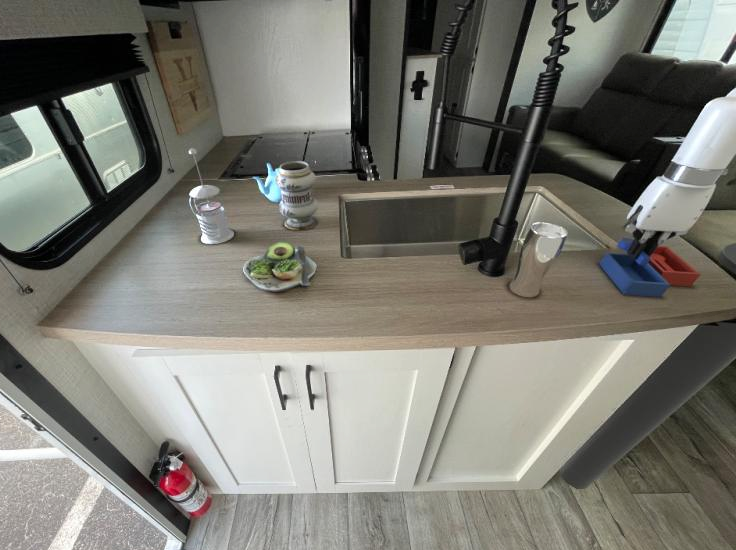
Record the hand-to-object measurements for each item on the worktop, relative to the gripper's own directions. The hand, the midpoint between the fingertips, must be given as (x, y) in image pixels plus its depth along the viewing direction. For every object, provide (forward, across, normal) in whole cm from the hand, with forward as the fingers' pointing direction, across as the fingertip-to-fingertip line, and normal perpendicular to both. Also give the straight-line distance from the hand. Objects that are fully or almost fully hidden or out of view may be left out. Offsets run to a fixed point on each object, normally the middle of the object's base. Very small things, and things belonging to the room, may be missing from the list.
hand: (636, 256), depth 73 cm
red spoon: (+5, -9, -3) cm, 11 cm away
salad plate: (+6, +82, +8) cm, 83 cm away
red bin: (+5, -9, -4) cm, 11 cm away
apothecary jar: (+6, +84, -19) cm, 86 cm away
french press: (+7, +108, -8) cm, 109 cm away
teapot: (+7, +97, -39) cm, 105 cm away
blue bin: (+6, 0, +2) cm, 6 cm away
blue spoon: (0, 0, -2) cm, 2 cm away
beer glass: (+6, +24, +8) cm, 26 cm away
